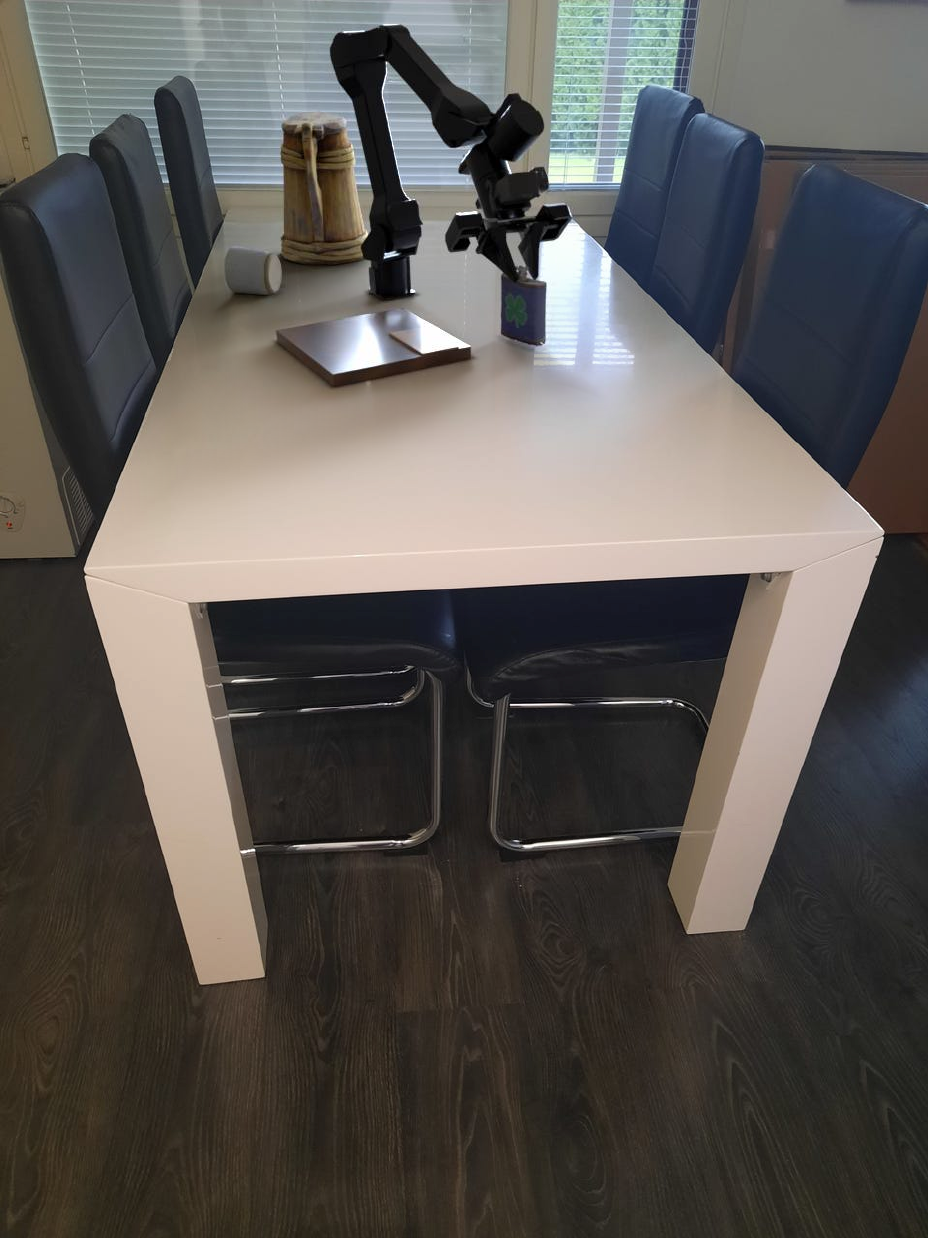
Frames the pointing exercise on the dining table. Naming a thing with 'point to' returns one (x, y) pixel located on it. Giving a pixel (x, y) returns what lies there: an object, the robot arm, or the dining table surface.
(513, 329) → the flask
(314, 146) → the tankard
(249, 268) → the ceramic mug
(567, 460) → the dining table surface
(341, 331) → the serving board
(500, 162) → the robot arm
